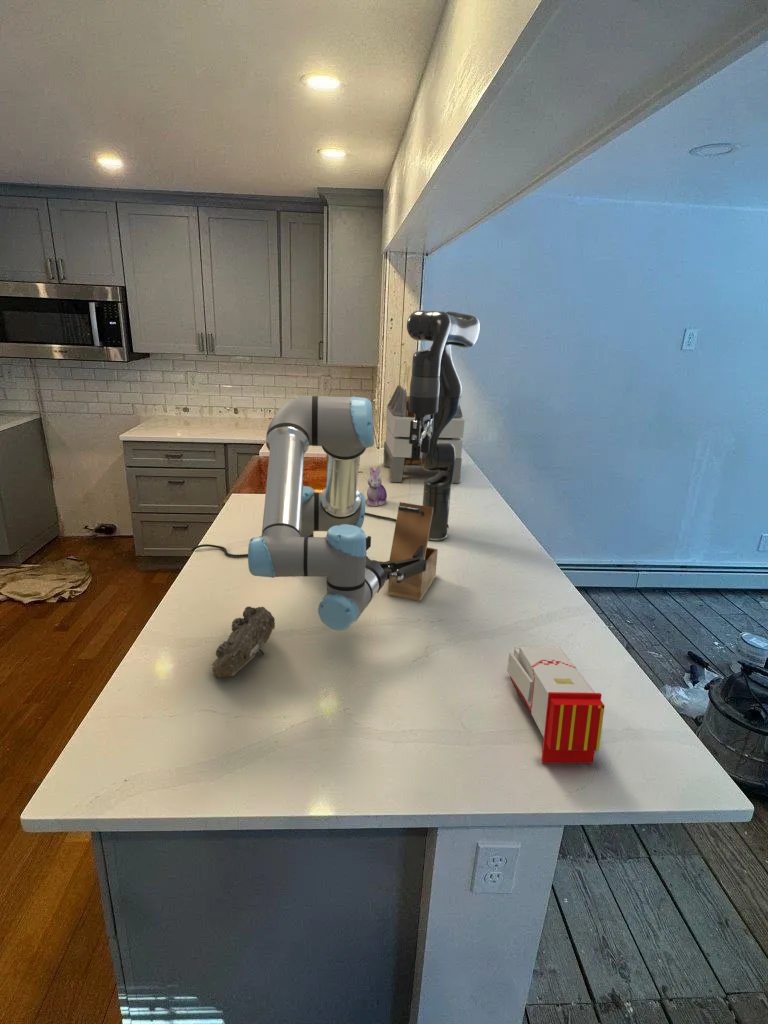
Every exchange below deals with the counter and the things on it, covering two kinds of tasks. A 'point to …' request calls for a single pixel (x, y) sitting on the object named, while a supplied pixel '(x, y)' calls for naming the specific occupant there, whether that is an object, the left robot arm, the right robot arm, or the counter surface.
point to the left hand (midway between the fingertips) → (395, 545)
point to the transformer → (398, 438)
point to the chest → (416, 580)
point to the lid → (411, 531)
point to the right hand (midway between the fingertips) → (420, 456)
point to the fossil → (243, 641)
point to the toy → (558, 703)
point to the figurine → (375, 489)
